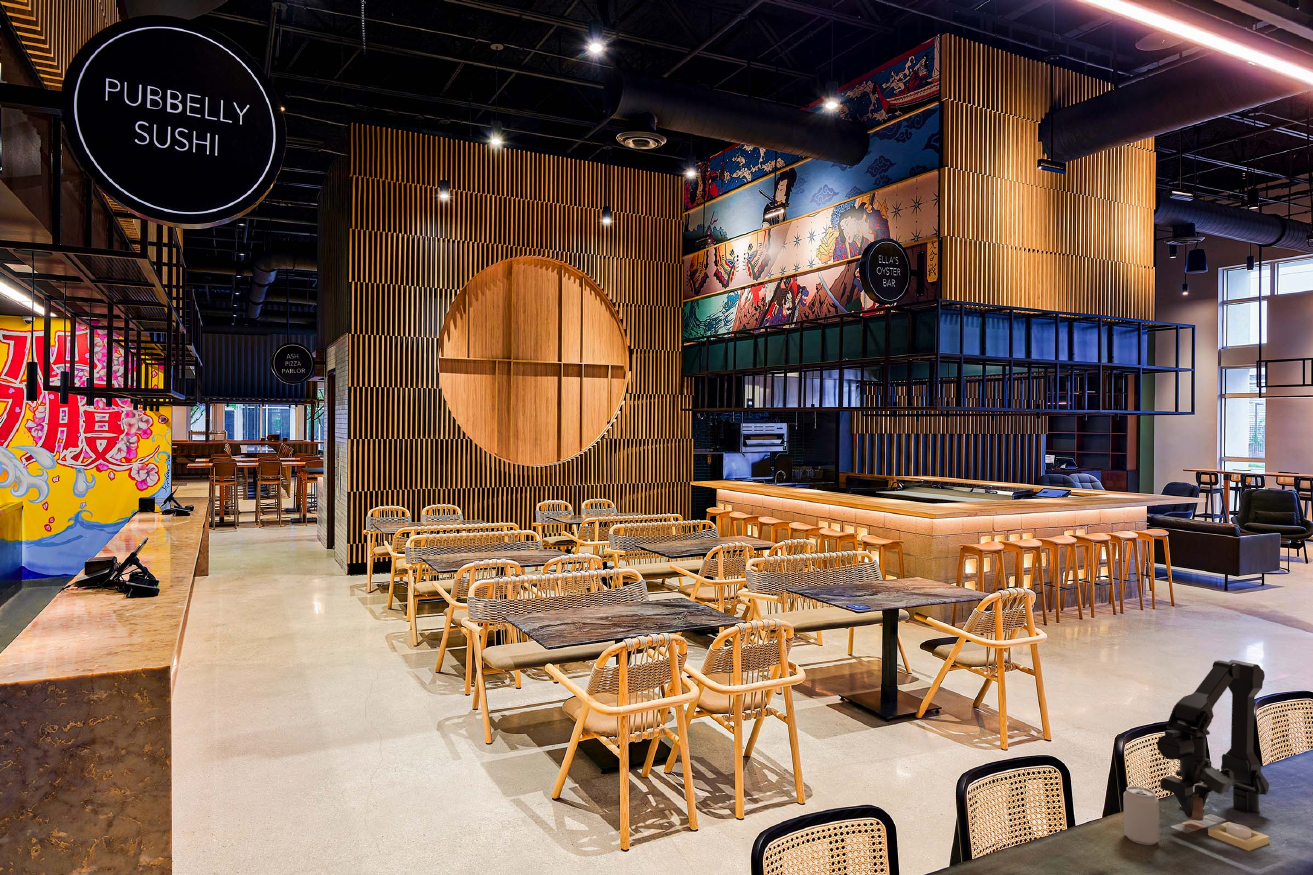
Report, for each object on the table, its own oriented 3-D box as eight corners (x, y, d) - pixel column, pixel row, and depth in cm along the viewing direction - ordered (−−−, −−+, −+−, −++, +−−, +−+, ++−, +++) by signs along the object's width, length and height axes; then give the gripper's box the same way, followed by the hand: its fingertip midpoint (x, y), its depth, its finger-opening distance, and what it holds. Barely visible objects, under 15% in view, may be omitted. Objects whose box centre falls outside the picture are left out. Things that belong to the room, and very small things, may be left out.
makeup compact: (1205, 814, 212) (1205, 811, 212) (1234, 825, 206) (1233, 821, 206) (1163, 827, 204) (1163, 824, 204) (1192, 839, 198) (1192, 835, 198)
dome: (1233, 833, 200) (1233, 821, 200) (1255, 842, 195) (1255, 829, 195) (1221, 837, 197) (1221, 825, 198) (1244, 846, 193) (1243, 833, 193)
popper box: (1229, 831, 202) (1229, 821, 202) (1269, 846, 194) (1269, 836, 194) (1208, 838, 198) (1208, 828, 198) (1248, 854, 190) (1248, 843, 190)
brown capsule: (1190, 812, 207) (1189, 793, 207) (1206, 818, 203) (1206, 798, 203) (1180, 815, 205) (1180, 795, 205) (1197, 821, 202) (1196, 801, 202)
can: (1124, 841, 196) (1124, 792, 197) (1123, 829, 203) (1122, 781, 203) (1160, 848, 193) (1159, 798, 193) (1158, 836, 199) (1157, 787, 200)
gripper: (1204, 769, 193) (1205, 835, 193) (1248, 757, 202) (1249, 820, 201) (1158, 754, 203) (1159, 817, 203) (1201, 744, 212) (1202, 804, 211)
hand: (1193, 815), depth 204 cm, fingers closed on brown capsule, 4 cm apart
